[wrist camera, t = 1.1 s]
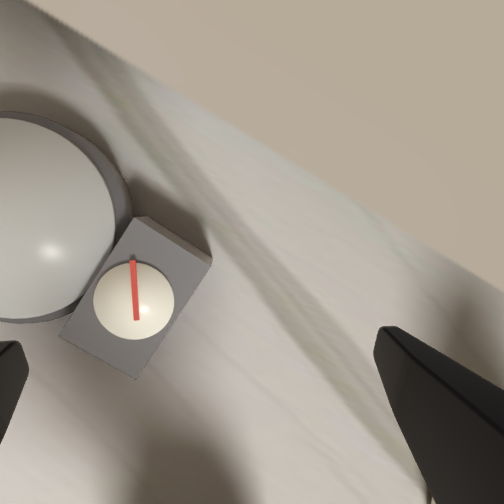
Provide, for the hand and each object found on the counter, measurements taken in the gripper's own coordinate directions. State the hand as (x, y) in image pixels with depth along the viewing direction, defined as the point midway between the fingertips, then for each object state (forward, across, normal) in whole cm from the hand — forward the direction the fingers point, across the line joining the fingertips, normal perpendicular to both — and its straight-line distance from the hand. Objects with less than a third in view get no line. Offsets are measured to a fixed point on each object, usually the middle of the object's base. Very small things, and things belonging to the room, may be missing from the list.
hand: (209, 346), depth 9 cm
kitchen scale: (+14, +9, +3) cm, 17 cm away
